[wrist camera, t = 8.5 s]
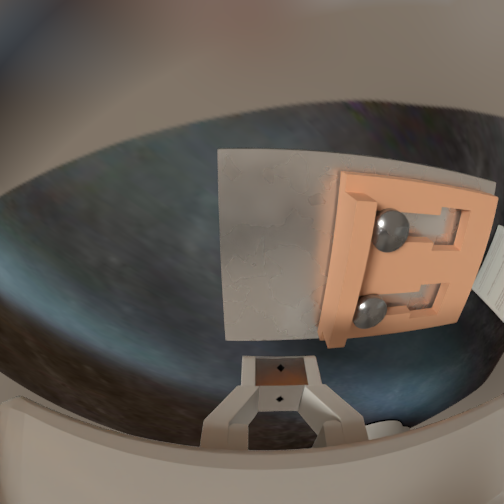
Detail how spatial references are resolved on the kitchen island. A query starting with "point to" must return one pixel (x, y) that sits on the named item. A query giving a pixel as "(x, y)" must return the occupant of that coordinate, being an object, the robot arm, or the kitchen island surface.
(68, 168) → the kitchen island surface
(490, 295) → the supplement box
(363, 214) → the panel
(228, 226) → the boss plate
